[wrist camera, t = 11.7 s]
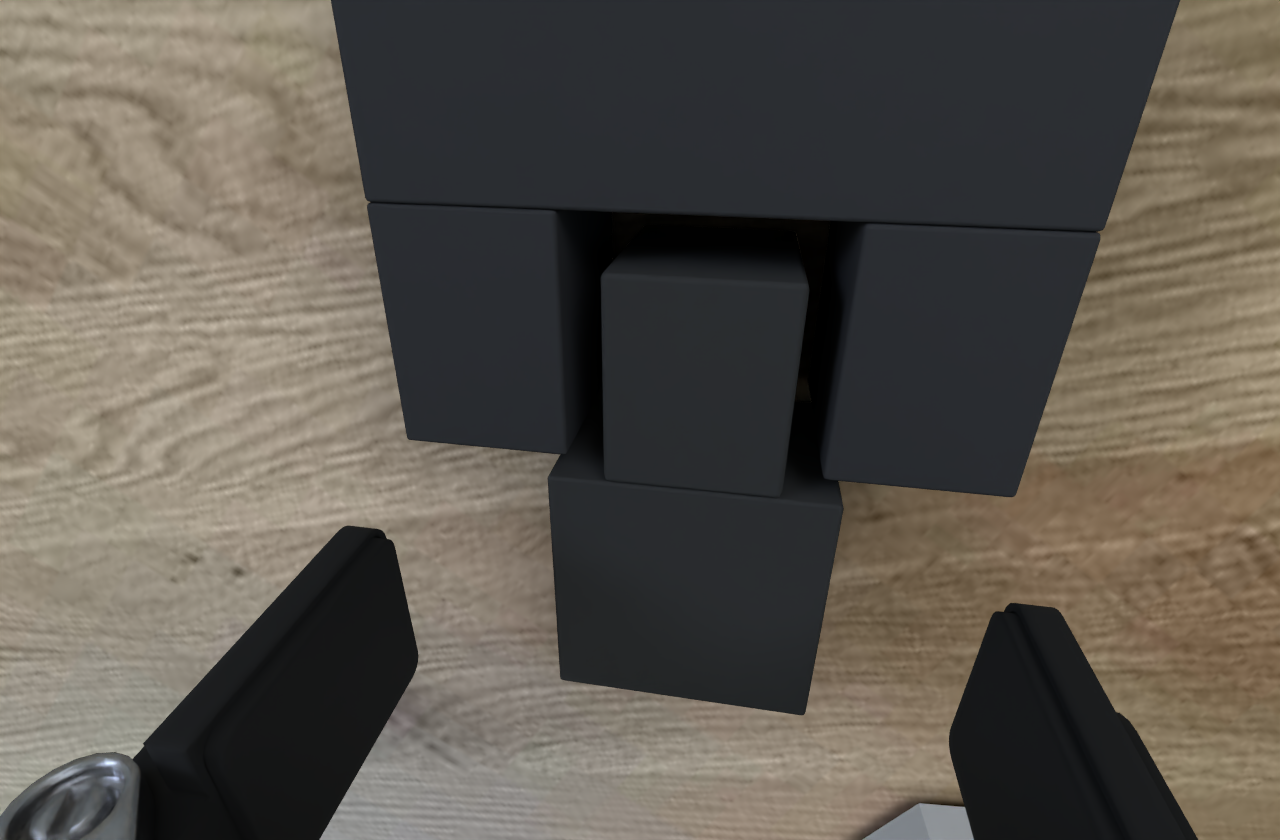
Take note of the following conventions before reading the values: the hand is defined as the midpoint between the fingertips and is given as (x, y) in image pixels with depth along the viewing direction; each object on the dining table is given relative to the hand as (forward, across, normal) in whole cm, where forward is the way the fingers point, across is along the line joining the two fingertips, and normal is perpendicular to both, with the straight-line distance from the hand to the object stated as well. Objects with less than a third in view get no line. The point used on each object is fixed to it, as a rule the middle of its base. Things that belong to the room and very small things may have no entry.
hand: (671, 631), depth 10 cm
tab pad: (+6, 0, -1) cm, 6 cm away
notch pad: (+6, 0, -7) cm, 9 cm away
